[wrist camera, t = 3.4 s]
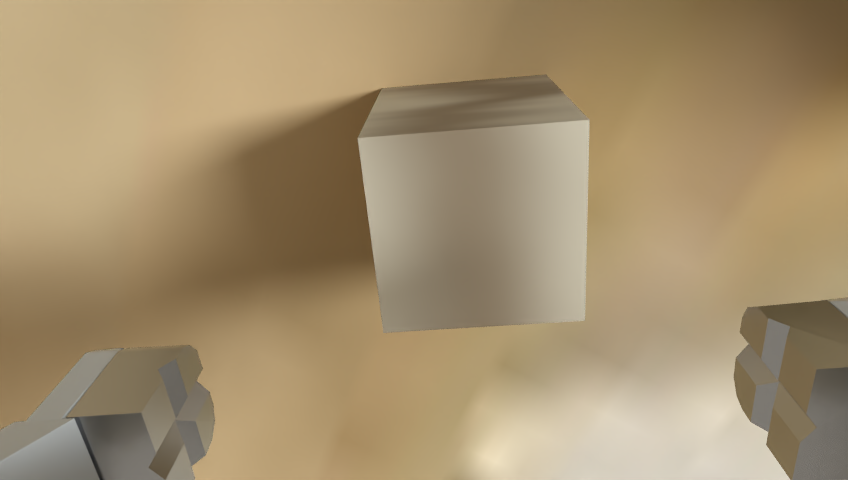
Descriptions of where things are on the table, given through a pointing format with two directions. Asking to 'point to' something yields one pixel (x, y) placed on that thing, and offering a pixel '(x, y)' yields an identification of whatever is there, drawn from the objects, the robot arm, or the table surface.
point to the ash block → (477, 203)
